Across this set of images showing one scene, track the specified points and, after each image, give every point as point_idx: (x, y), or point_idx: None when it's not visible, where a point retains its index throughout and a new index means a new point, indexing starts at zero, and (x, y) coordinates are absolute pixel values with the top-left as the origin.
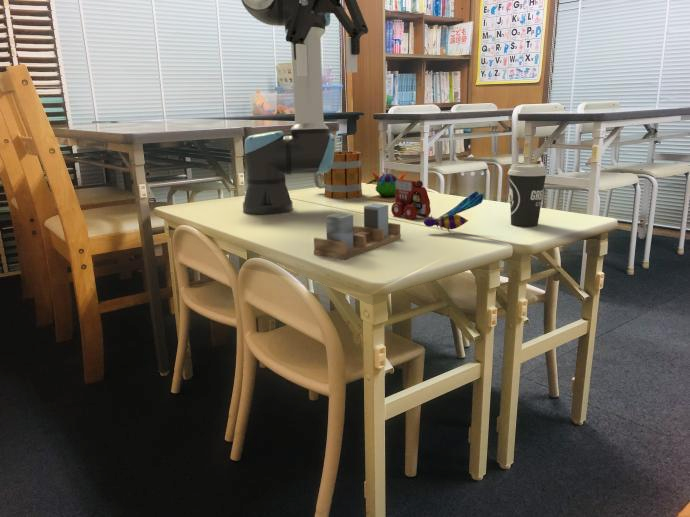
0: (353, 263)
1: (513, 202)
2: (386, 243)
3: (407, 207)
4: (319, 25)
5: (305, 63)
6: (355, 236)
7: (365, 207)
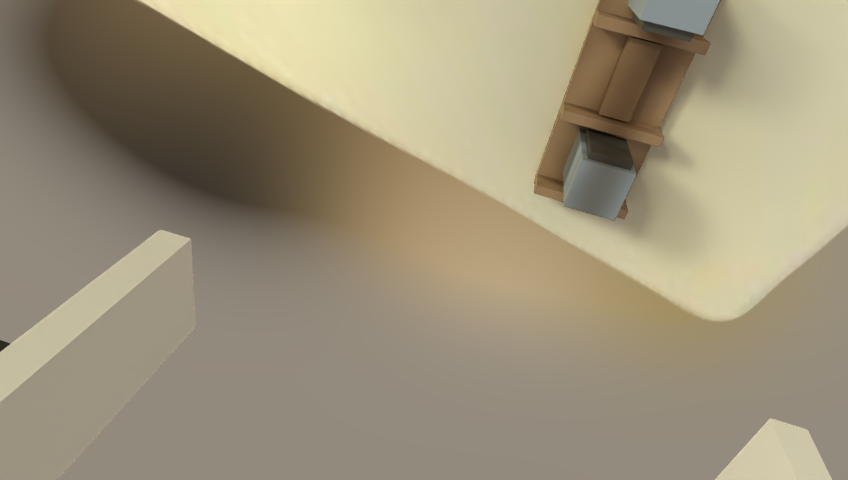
0: (648, 224)
1: None
2: None
3: None
4: None
5: (111, 332)
6: (632, 138)
7: (645, 20)
